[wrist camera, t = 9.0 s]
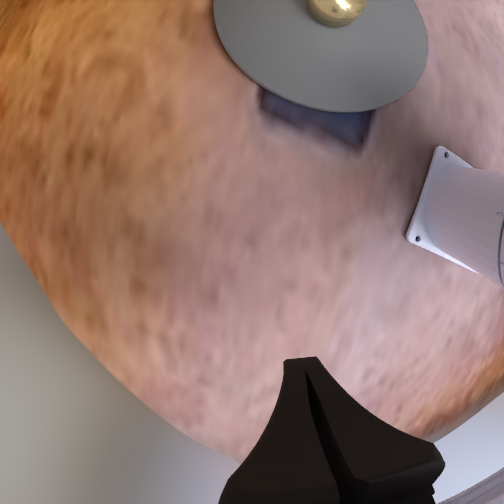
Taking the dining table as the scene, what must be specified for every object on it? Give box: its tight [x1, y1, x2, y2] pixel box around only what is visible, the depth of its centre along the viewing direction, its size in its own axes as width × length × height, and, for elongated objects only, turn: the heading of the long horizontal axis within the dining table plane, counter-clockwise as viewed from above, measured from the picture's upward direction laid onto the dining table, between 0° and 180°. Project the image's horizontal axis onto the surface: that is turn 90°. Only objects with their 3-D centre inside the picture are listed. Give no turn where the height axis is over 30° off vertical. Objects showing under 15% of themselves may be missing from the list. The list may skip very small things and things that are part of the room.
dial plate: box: [213, 0, 428, 113], centre depth 15 cm, size 16×16×1 cm
